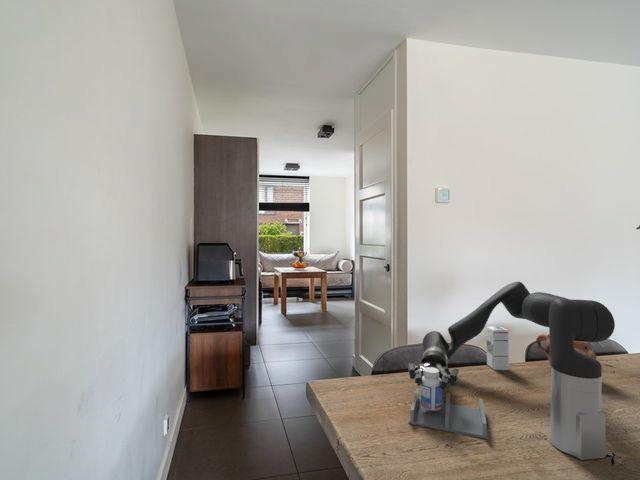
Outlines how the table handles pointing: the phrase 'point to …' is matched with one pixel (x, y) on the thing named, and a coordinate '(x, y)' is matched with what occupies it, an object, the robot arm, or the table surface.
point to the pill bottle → (431, 389)
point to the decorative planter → (578, 345)
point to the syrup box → (497, 348)
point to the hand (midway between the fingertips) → (430, 383)
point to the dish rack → (450, 417)
